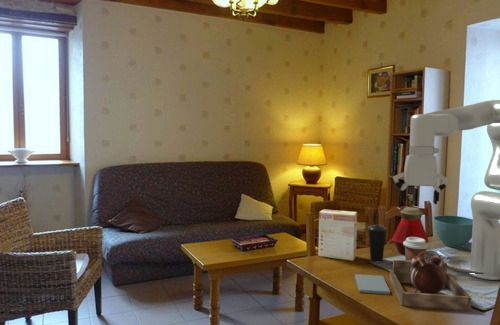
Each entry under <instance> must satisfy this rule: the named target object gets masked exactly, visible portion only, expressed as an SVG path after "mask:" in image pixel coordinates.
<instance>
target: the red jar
mask: <svg viewBox="0 0 500 325" xmlns="http://www.w3.org/2000/svg"><path fill="white" fill-rule="evenodd" d="M399 213H400V215H401V219H400V221H399V224H398V226H397V228H396V230H395V231H394V233H393V236H392V238H391V241H392V242H393V244H394V246H395V248H396V251H397V252H398V253H399V254H400V255H402V256H405V246H404V245H403V242H404V241H405V240H406V238H408V237H418V238H422V239H424V240H425V241H426V243H427V244H428V242H429V239H428V236H427V235H428V234H427V233H426V230H425V228H424V225H423V221H422V219H421V218H422V216H423V214H424V212H423V211H422V210H421V209H420V208H419V207H411V206H410V207H404V208H403V209H402V210H401V211H399Z"/></svg>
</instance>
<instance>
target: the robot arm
mask: <svg viewBox="0 0 500 325" xmlns="http://www.w3.org/2000/svg"><path fill="white" fill-rule="evenodd" d="M484 126H486V132H487V135H488V137H489V140H490V143H491V145H492V155H491V158H490V159H489V163H488V167H487V169H486V172H485V175H484V179H483V183H484V185H485V186H486V187H487V188H488V189H491V190H495V191H500V99H493V100H492V99H491V100H485V101H480V102H476V103H472V104H468V105H463V106H457V107H453V108H447V109H441V110H437V111H431V112H428V113H423V114H422V113H419V114H418V113H417V114H416V113H415V114H413V115H411V117H410V126H409V127H410V128H409V129H410V130H409V131H410V132H409V149H408V150H409V151H408V152H409V153H408V155H406V157H405V160H404V161H405V163H404V168H403V169H404V170H403V172H401V173H398V174H396V175H394V176H392V179H393V181H394V183H395V185H396V187H397V188H398V189H399V190H400V200H402V202H403V203H406V200H407V198H406V197H407V190H406V189H407V188H408V187H409V186H417V187H419V186H420V187H433V189H434V191H433V196H432V197H433V200H432V201H433V202H432V203H433V204H434V205H438V202H439V201H440V192H441V191H443V190H444V189H445V188H446V187H447V185H448V183H449V182H450V179H449V178H448V177H446V176H443V175H442V174H440V173H438V162H437V156H436V155H435V154H437V153H440V148H436V147H435V142H436V141H435V139H436V138H435V137H451V136H453V135H454V134H456V133H457V131H468V130H469V131H470V130H474V129H478V128H480V127H481V128H482V127H484ZM401 178H403V182H404V183H402V184H401V183H400V180H399V179H401ZM438 179H440V180H442V183H441V184H440V185H439V186H438V185H437V184H438ZM470 208H471V214H472V215H471V216H472V219H473V229H472V238H471V248H470V249H471V250H470V263H469V265H468V266H466V267H469V266H470V269H471V270H474V271H479V272H483V273H484V274H475V273H469V274H468V275H470V276H472V277H475V278H478V279H482V280H487V281H488V280H489V281H499V280H500V192H494V191H487V190H482V191H478V192H475V193H474V194H473V195H472V197H471V200H470Z"/></svg>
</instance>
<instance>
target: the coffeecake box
mask: <svg viewBox="0 0 500 325" xmlns="http://www.w3.org/2000/svg"><path fill="white" fill-rule="evenodd" d="M318 213H319V214H318V216H319V217H318V254H317V255H318V257H323V258H332V259H338V260H344V261H354V260H355V258H356V257H357V235H358V234H357V229H358V227H357V225H358V223H357V222H358V212H357V211H349V210H336V209H326V208H325V209H322V210H320V211H319V212H318Z"/></svg>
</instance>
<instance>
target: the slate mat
mask: <svg viewBox="0 0 500 325" xmlns="http://www.w3.org/2000/svg"><path fill="white" fill-rule="evenodd" d="M354 280H355V282H356V286H357V290H358V293H361V292H362V293H363V294H365V293H366V294H376V295H377V294H379V295H380V294H381V295H391V290H390V288H389V286H388V284H387V282H386V280H385V277H384V276H383V275H373V274H359V273H358V274H357V273H355V274H354ZM362 293H361V294H362Z"/></svg>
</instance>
